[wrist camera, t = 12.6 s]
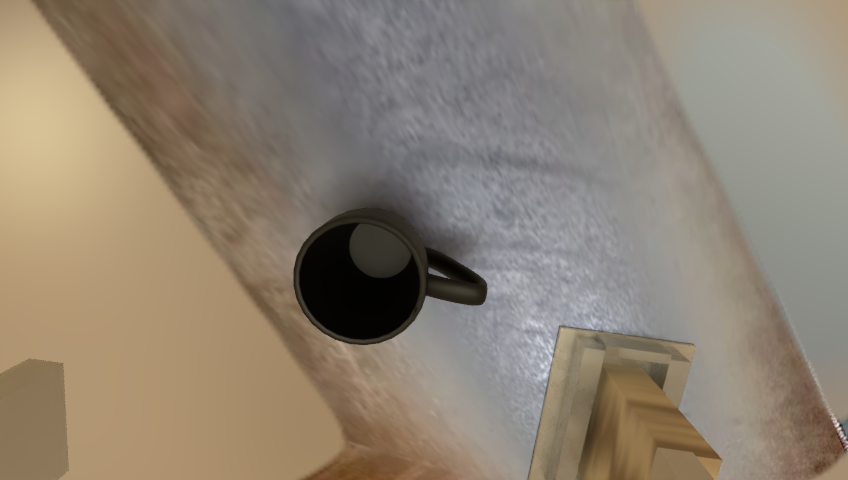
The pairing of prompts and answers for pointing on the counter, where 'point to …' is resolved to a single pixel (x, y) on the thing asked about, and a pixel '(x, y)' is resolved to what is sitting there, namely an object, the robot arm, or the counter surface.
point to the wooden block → (635, 428)
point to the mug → (374, 277)
